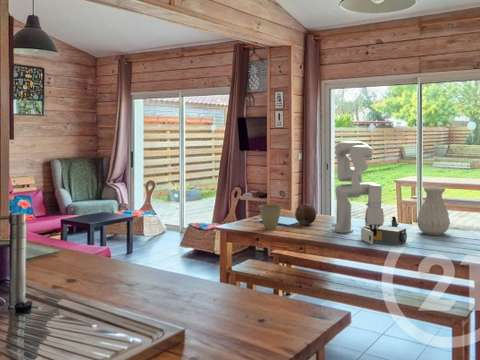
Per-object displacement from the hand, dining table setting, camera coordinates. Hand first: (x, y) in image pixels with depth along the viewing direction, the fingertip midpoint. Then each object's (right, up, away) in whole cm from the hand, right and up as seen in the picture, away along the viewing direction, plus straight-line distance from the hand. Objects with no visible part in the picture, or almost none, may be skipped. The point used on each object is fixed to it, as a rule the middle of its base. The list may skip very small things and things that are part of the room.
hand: (373, 235), depth 290 cm
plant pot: (-59, -1, +44) cm, 73 cm away
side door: (-4, -4, +4) cm, 7 cm away
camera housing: (+9, -4, +7) cm, 12 cm away
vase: (+46, -2, +27) cm, 53 cm away
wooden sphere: (-33, +1, +59) cm, 67 cm away
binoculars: (+19, -2, +29) cm, 35 cm away
